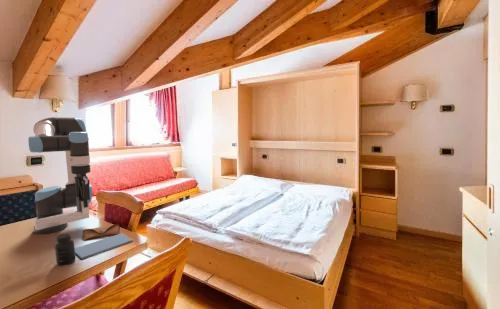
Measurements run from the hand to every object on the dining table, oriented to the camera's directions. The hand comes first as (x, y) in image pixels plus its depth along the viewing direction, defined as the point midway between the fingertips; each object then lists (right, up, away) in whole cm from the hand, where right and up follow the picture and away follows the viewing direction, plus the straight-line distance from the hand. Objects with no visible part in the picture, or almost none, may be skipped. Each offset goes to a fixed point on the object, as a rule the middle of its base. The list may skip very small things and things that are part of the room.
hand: (84, 212), depth 124 cm
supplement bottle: (0, -19, -12) cm, 22 cm away
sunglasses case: (0, -16, +15) cm, 22 cm away
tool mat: (+8, -17, +2) cm, 19 cm away
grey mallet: (-5, -3, -6) cm, 9 cm away
